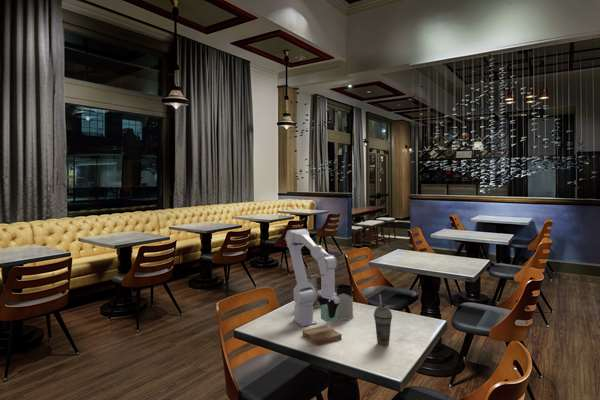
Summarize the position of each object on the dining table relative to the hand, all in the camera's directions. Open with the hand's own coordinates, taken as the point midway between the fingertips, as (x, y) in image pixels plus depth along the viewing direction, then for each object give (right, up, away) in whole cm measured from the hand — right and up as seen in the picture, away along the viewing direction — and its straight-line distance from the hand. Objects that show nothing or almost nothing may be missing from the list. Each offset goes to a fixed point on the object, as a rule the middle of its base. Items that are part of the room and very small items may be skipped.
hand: (328, 315), depth 156 cm
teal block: (0, -2, 0) cm, 2 cm away
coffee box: (-3, -7, +40) cm, 40 cm away
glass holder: (+10, -8, +24) cm, 28 cm away
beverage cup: (+21, -9, -9) cm, 25 cm away
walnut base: (-3, -9, -2) cm, 9 cm away
